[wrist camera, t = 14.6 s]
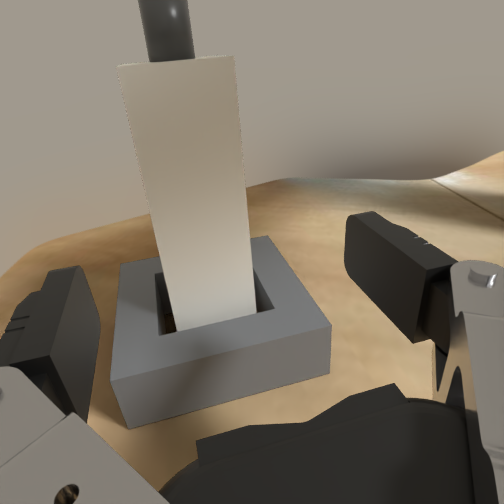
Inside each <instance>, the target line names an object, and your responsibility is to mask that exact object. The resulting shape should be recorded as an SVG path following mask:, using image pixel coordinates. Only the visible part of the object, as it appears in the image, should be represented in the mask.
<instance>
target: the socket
mask: <svg viewBox="0 0 504 504" xmlns="http://www.w3.org/2000/svg"><path fill="white" fill-rule="evenodd" d="M250 244H251V255H252V266H253V278H254V289H255V301H256V309H257V311H258V313H255V314H251V315H247V316H242V317H238V318H234V319H230V320H225V321H221V322H217V323H213V324H208V325H204V326H200V327H196V328H191V329H187V330H183V331H179V332H174V333H170V334H166V325H165V314H169V313H173V311H172V307H171V302H170V298H169V294H168V289H167V285H166V281H165V277H164V272H163V268H162V264H161V259H160V256H159V257H153V258H148V259H143V260H138V261H133V262H128V263H122V264H120V275H119V286H118V297H117V308H116V319H115V330H114V341H113V352H112V363H111V374H110V383H111V386H112V388H113V391H114V393H115V396H116V399H117V401H118V404H119V406H120V409H121V412H122V414H123V417H124V419H125V422H126V424H127V427H128V429H132V428H135V427H139V426H142V425H146V424H150V423H153V422H157V421H160V420H164V419H167V418H171V417H175V416H178V415H182V414H185V413H189V412H193V411H196V410H200V409H203V408H207V407H210V406H214V405H218V404H221V403H225V402H228V401H232V400H236V399H239V398H243V397H246V396H250V395H253V394H257V393H261V392H264V391H268V390H271V389H275V388H279V387H282V386H286V385H289V384H293V383H296V382H300V381H304V380H307V379H311V378H314V377H318V376H322V375H325V374H329V373H330V355H331V331H332V325H331V324H330V322H329V321H328V319H327V318H326V317H325V315H324V314H323V312H322V311H321V309H320V308H319V307H318V305H317V304H316V302H315V301H314V300H313V298H312V297H311V295H310V294H309V293H308V291H307V290H306V288H305V287H304V286H303V284H302V283H301V281H300V280H299V279H298V277H297V276H296V274H295V273H294V272H293V270H292V269H291V267H290V266H289V265H288V263H287V262H286V260H285V259H284V258H283V256H282V255H281V253H280V252H279V250H278V249H277V248H276V246H275V245H274V243H273V242H272V241H271V239H270V238H269V236H268V235H267V236H262V237H257V238H252V239H250Z"/></svg>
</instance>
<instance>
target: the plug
mask: <svg viewBox="0 0 504 504" xmlns="http://www.w3.org/2000/svg"><path fill="white" fill-rule="evenodd" d="M138 3H139V8H140V13H141V19H142V23H143V29H144V35H145V40H146V45H147V50H148V56H149V60H150V62H140V63H128V64H121V65H119V66H117V67H116V69H117V74H118V78H119V82H120V86H121V91H122V95H123V99H124V104H125V108H126V112H127V117H128V121H129V125H130V130H131V134H132V138H133V143H134V147H135V151H136V156H137V160H138V164H139V168H140V173H141V177H142V181H143V186H144V190H145V194H146V199H147V203H148V207H149V212H150V216H151V220H152V225H153V229H154V233H155V238H156V242H157V246H158V251H159V255H160V259H161V264H162V268H163V272H164V277H165V281H166V285H167V289H168V294H169V298H170V302H171V307H172V311H173V315H174V320H175V324H176V328H177V332H179V331H183V330H187V329H191V328H196V327H200V326H204V325H208V324H213V323H217V322H221V321H225V320H230V319H234V318H238V317H242V316H247V315H251V314H255V313H257V312H256V301H255V289H254V278H253V266H252V255H251V244H250V232H249V221H248V209H247V198H246V186H245V176H244V164H243V152H242V141H241V129H240V118H239V106H238V96H237V84H236V73H235V61H234V56H206V57H195V54H194V46H193V39H192V31H191V24H190V17H189V9H188V1H187V0H138Z"/></svg>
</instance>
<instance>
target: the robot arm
mask: <svg viewBox="0 0 504 504" xmlns="http://www.w3.org/2000/svg"><path fill="white" fill-rule="evenodd" d="M344 264H345V268H346V271H347V273H348V275H349V277H350V278H351V279H352V280H353V281H354V282H355V283H356V284H357V285H358V286H359V287H360V288H361V289H362V291H363V292H364V293H365V294H366V295H367V296H368V297H369V298H370V299H371V300H372V301H373V302H374V303H375V304H376V305H377V306H378V307H379V308H380V310H381V311H382V312H383V313H384V314H385V315H386V316H387V317H388V318H389V319H390V320H391V321H392V322H393V323H394V324H395V325H396V326H397V327H398V329H399V330H400V331H401V332H402V333H403V334H404V335H405V336H406V337H407V338H408V339H409V340H410V341H411V342H412V343H413V344H414V343H417V342H421V341H425V340H428V339H431V340H432V341H433V342H434V344H433V348H432V388H433V400H428V399H419V398H406V397H405V396H404V395H403V394H402V392H401V391H400V390H399V388H398V387H397V386H396V385H395V383H392V384H389V385H385V386H382V387H379V388H375V389H372V390H368V391H365V392H361V393H358V394H355V395H351V396H349V397H347V398H345V399H344V400H342V401H340V402H339V403H337V404H336V405H334V406H332V407H331V408H329V409H327V410H326V411H324V412H322V413H321V414H319V415H318V416H316V417H314V418H313V419H311V420H309V421H307V422H303V423H286V424H266V425H248V426H245V427H241V428H238V429H234V430H231V431H228V432H224V433H221V434H217V435H214V436H210V437H207V438H204V439H200V440H197V441H196V445H197V452H198V459H197V460H196V461H194V462H192V463H191V464H189V465H187V466H186V467H185V468H184V469H182V470H181V471H180V472H178V473H177V474H176V475H175V476H174V477H173V478H172V479H170V480H169V481H168V482H167V483H166V484H165V485H164V486H163V487H162V489H161V490H160V491H159V492H157V491H156V490H155V489H154V488H153V487H152V486H151V485H150V484H149V483H148V482H147V481H146V480H145V479H144V478H143V477H142V476H141V475H140V474H138V473H137V472H136V471H135V470H134V469H133V468H132V467H131V466H130V465H129V464H128V463H127V462H126V461H125V460H124V459H123V458H122V457H121V456H120V455H119V454H118V453H117V452H116V451H115V450H113V449H112V448H111V447H110V446H109V445H108V444H107V443H106V442H105V441H104V440H103V439H102V438H101V437H100V436H99V435H98V434H97V433H96V432H95V431H94V430H93V429H92V428H91V427H90V426H89V425H87V419H88V412H89V405H90V398H91V392H92V385H93V378H94V371H95V365H96V358H97V351H98V344H99V338H100V319H99V314H98V311H97V308H96V305H95V302H94V299H93V296H92V294H91V291H90V288H89V285H88V282H87V280H86V277H85V274H84V272H83V269H82V268H81V267H80V266H73V267H68V268H63V269H57V270H52V271H49V272H48V274H47V277H46V279H45V281H44V284H43V286H42V288H41V291H37V292H32V293H31V294H29V295H28V296H27V297H26V298H25V299H24V300H23V301H22V302H21V303H20V304H19V305H18V306H17V307H16V309H15V311H14V313H13V315H12V317H11V319H10V320H11V322H9V323H8V325H7V327H6V329H5V333H4V334H3V335H2V337H1V339H0V504H504V268H503V267H501V266H498V265H496V264H492V263H489V262H484V261H476V260H467V261H460V262H458V261H457V260H455V259H454V258H452V257H450V256H449V255H447V254H446V253H444V252H443V251H441V250H440V249H438V248H437V247H435V246H433V245H432V244H428V242H427V241H426V240H424V239H423V238H421V237H418V235H416V234H415V233H413V232H412V231H410V230H409V229H407V228H405V227H402V226H399V225H396V224H393V223H391V222H389V221H388V220H386V219H385V218H383V217H382V216H380V215H379V214H377V213H376V212H374V211H370V212H365V213H360V214H354V215H350V216H349V217H348V218H347V221H346V233H345V251H344Z"/></svg>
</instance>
